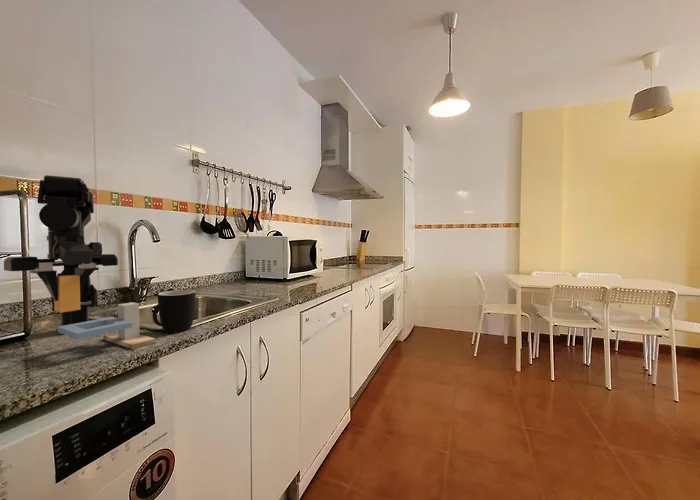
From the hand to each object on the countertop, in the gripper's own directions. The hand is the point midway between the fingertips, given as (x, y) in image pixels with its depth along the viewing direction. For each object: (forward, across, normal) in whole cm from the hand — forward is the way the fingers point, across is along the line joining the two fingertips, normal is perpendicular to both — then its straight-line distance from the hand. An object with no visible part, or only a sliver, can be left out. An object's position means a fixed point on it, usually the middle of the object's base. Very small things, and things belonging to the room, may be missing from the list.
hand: (67, 299), depth 73 cm
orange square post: (+3, 0, 0) cm, 3 cm away
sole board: (+11, +9, -9) cm, 16 cm away
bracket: (+10, +4, -9) cm, 14 cm away
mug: (+11, +19, -9) cm, 24 cm away
